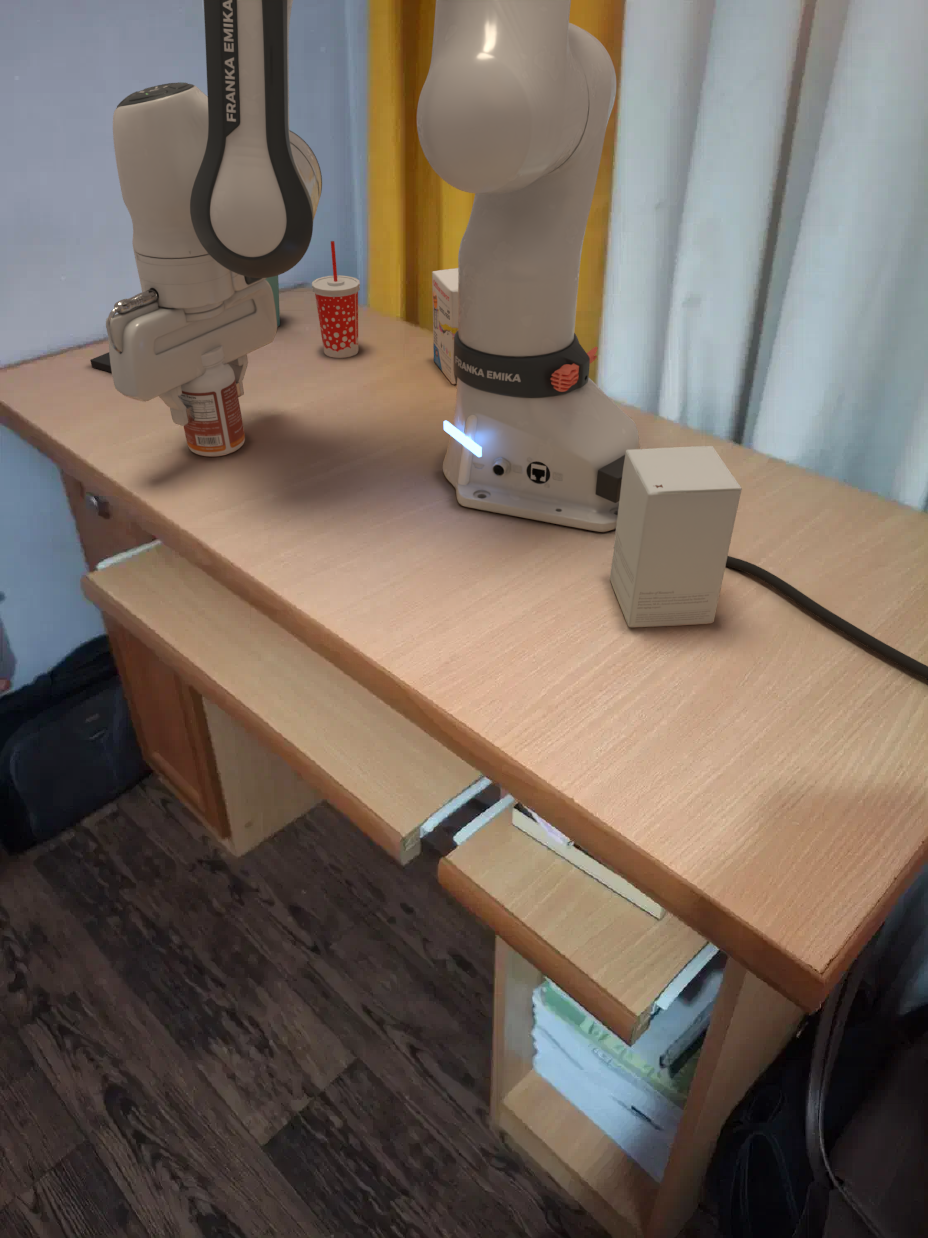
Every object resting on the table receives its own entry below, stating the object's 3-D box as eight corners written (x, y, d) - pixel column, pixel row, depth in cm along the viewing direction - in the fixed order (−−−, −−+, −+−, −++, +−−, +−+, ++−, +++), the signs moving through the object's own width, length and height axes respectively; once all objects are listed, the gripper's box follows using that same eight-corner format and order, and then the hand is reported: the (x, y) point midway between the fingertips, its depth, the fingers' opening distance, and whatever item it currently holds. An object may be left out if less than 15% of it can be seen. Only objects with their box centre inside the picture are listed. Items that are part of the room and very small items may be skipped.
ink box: (431, 360, 119) (430, 268, 112) (492, 352, 121) (495, 261, 114) (451, 385, 112) (451, 289, 105) (515, 377, 115) (519, 282, 107)
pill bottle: (229, 427, 103) (213, 330, 96) (256, 447, 99) (241, 347, 92) (178, 443, 100) (157, 344, 93) (203, 464, 96) (184, 362, 89)
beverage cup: (334, 339, 125) (325, 232, 116) (373, 347, 122) (366, 238, 114) (309, 354, 120) (297, 244, 112) (348, 363, 118) (339, 250, 110)
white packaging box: (715, 625, 74) (745, 489, 67) (626, 629, 74) (645, 492, 66) (690, 574, 80) (715, 443, 73) (607, 577, 80) (623, 446, 72)
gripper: (127, 313, 80) (158, 455, 89) (279, 255, 94) (293, 382, 103) (78, 300, 83) (113, 439, 91) (233, 246, 97) (251, 371, 105)
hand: (210, 409), depth 97 cm, fingers closed on pill bottle, 6 cm apart
